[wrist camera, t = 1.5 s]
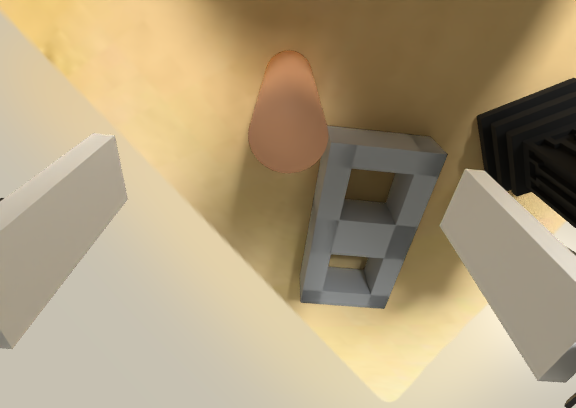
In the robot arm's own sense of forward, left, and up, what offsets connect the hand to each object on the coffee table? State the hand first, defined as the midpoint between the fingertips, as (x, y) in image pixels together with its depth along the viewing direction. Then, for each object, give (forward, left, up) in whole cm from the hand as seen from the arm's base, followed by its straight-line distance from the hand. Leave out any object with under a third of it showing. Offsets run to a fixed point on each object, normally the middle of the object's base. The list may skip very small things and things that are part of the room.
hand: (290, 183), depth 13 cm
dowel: (0, 0, -18) cm, 18 cm away
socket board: (+14, +9, -18) cm, 25 cm away
